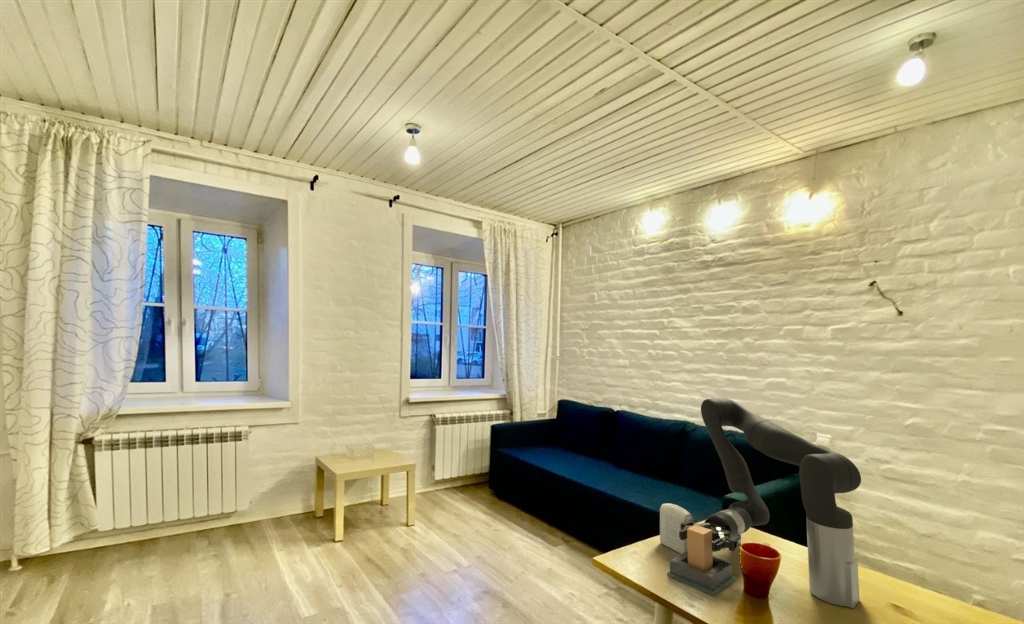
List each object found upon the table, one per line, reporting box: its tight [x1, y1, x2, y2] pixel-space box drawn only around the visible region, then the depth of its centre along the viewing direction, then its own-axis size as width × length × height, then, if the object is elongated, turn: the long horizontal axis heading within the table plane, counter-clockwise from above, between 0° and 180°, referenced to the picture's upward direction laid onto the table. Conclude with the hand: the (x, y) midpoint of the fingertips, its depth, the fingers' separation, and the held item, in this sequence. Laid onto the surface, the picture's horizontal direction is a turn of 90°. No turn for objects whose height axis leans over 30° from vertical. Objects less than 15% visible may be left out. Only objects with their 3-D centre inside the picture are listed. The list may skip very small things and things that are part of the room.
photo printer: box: [659, 502, 694, 554], centre depth 130 cm, size 10×4×12 cm, turn 28°
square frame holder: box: [666, 550, 736, 597], centre depth 112 cm, size 12×12×4 cm
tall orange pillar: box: [687, 525, 714, 571], centre depth 113 cm, size 4×4×11 cm
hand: (696, 541), depth 112 cm, fingers open, 8 cm apart
